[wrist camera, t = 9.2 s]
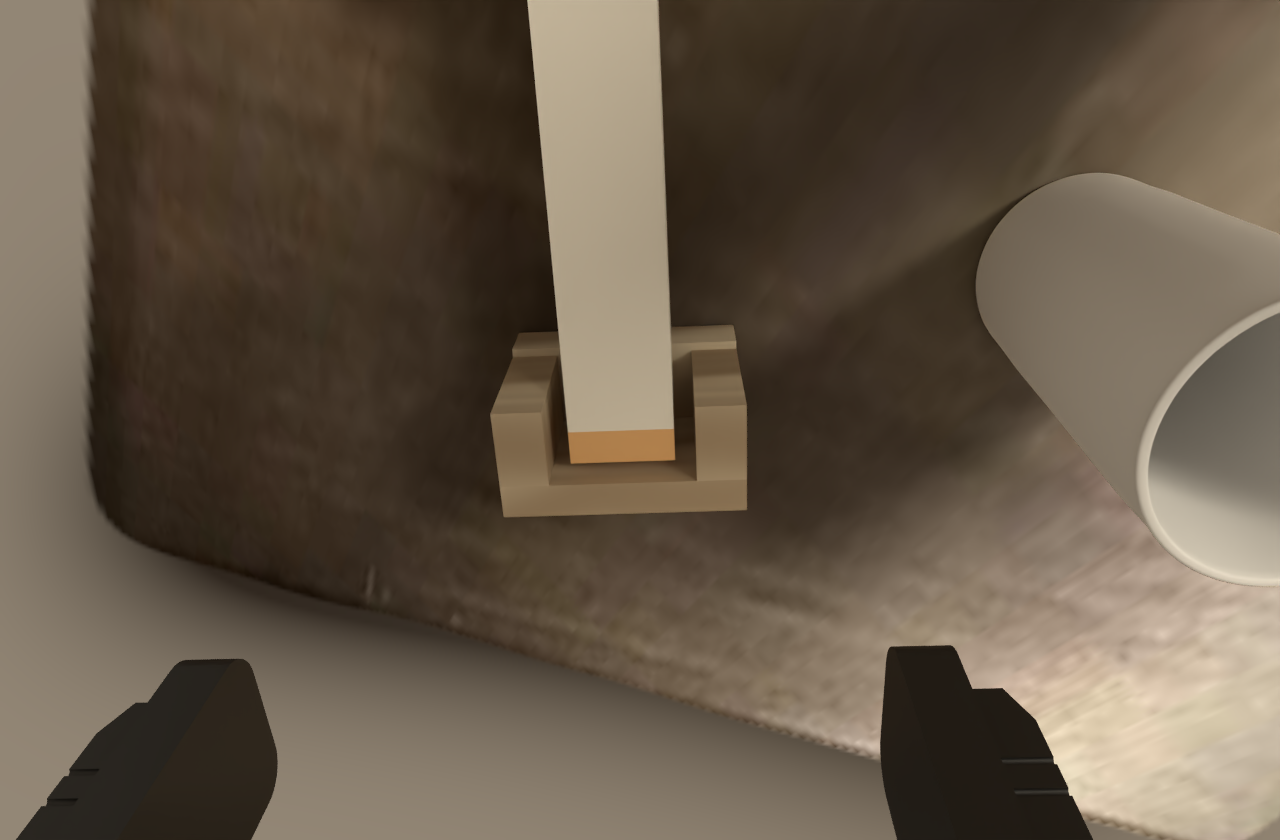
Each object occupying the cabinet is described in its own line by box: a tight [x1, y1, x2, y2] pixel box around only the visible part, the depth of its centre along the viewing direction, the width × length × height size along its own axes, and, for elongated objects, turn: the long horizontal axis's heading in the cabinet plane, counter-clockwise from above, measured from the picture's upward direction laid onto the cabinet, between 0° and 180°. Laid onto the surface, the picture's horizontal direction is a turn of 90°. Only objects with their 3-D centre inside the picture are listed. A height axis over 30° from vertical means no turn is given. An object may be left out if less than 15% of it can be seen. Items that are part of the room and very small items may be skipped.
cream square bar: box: [527, 0, 675, 464], centre depth 24 cm, size 18×3×3 cm, turn 3°
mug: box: [976, 173, 1280, 587], centre depth 24 cm, size 10×7×12 cm, turn 87°
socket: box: [490, 325, 747, 517], centre depth 29 cm, size 4×7×6 cm, turn 93°
